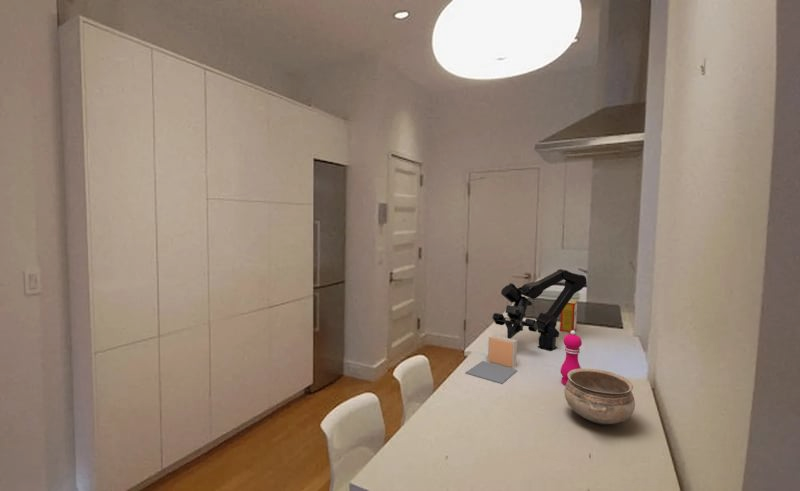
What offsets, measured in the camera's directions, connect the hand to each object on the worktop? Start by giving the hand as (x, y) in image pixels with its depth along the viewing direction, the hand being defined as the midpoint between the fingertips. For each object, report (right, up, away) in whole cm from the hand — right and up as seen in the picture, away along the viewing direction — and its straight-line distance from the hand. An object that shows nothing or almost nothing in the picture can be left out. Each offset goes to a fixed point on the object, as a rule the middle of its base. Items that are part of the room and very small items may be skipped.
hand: (508, 338), depth 164 cm
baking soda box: (+44, -6, +43) cm, 62 cm away
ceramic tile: (-4, -9, -5) cm, 11 cm away
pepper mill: (+16, -11, -23) cm, 30 cm away
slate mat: (-10, -10, -13) cm, 19 cm away
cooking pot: (+14, -13, -47) cm, 50 cm away
